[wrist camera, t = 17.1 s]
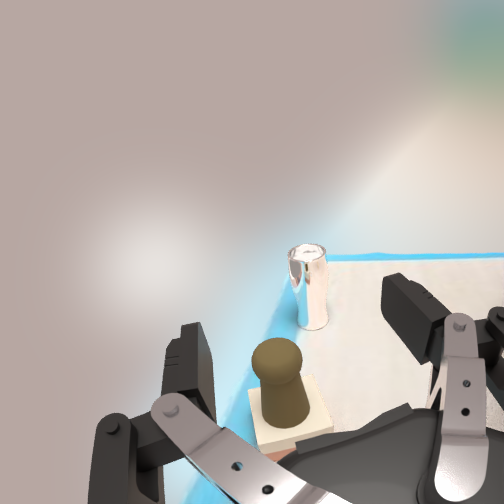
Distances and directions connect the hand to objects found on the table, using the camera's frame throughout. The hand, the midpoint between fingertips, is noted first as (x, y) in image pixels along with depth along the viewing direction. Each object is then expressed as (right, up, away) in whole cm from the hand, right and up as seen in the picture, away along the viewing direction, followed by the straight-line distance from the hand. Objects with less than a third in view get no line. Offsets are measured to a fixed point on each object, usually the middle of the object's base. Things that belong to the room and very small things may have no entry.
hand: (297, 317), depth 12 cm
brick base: (+4, -22, +24) cm, 32 cm away
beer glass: (+10, -11, +45) cm, 47 cm away
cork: (+2, -17, +21) cm, 27 cm away
